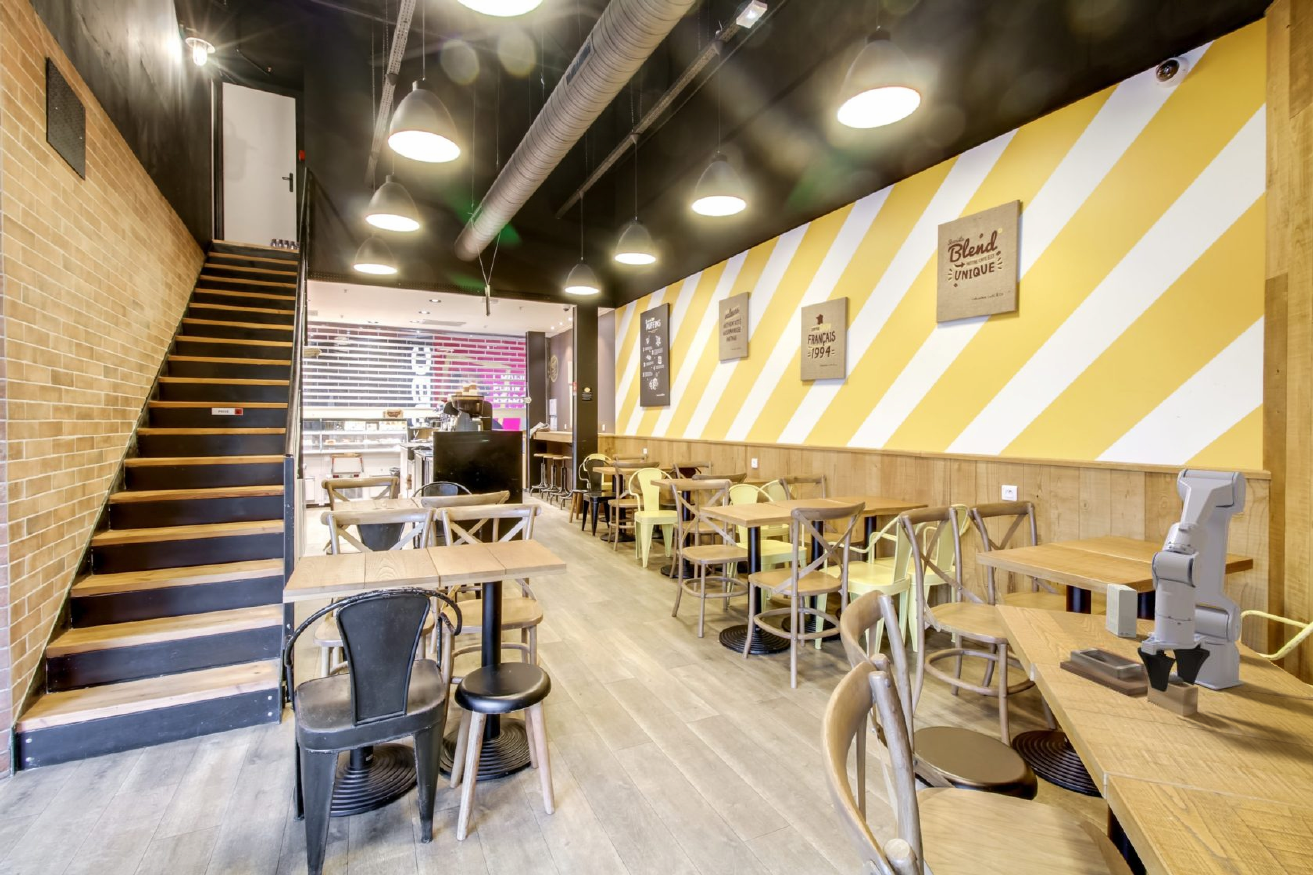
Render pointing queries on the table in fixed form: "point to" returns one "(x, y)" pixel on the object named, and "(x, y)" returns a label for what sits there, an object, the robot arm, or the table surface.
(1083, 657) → the board
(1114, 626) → the skincare box
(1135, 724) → the table surface
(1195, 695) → the knob block
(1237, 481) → the robot arm
